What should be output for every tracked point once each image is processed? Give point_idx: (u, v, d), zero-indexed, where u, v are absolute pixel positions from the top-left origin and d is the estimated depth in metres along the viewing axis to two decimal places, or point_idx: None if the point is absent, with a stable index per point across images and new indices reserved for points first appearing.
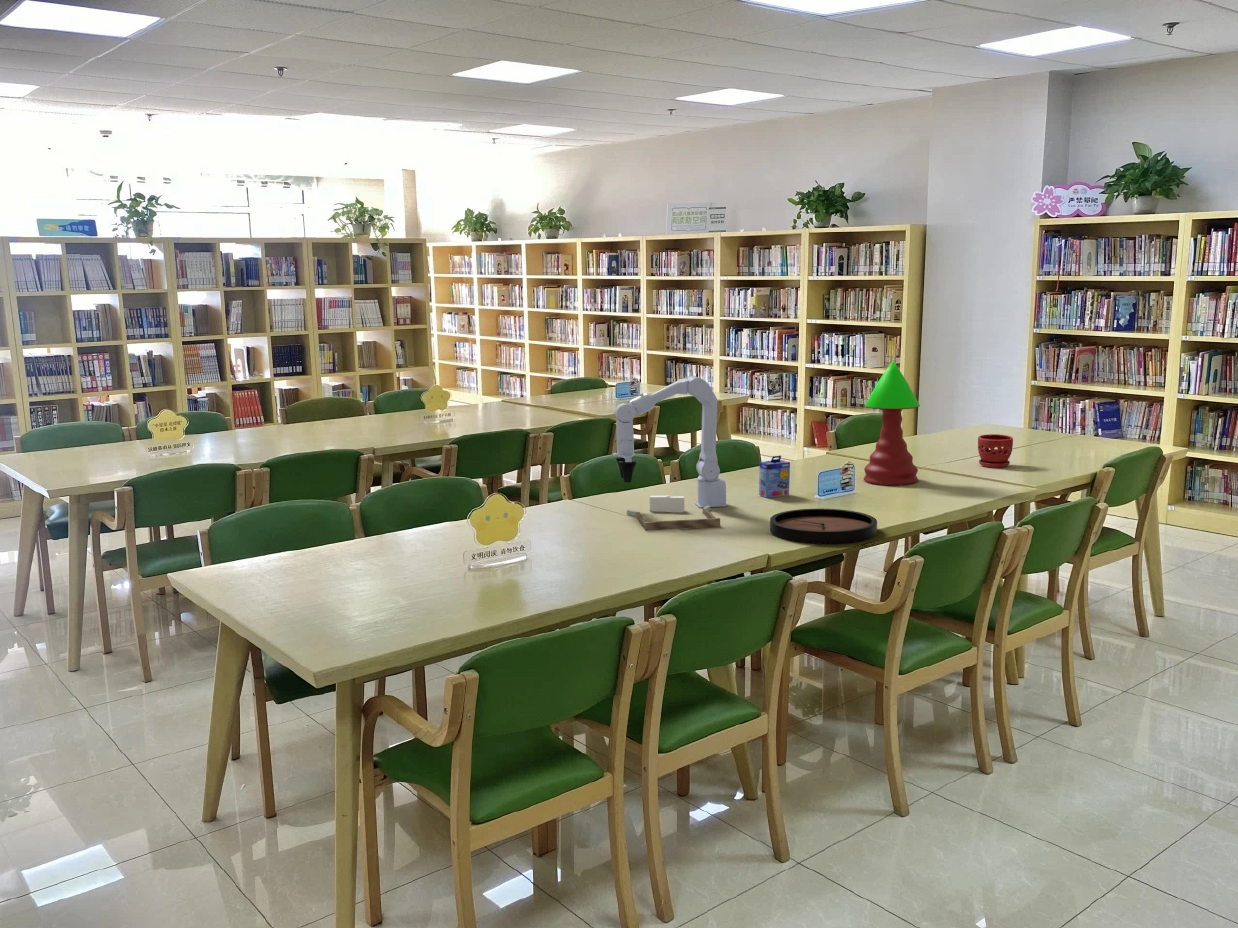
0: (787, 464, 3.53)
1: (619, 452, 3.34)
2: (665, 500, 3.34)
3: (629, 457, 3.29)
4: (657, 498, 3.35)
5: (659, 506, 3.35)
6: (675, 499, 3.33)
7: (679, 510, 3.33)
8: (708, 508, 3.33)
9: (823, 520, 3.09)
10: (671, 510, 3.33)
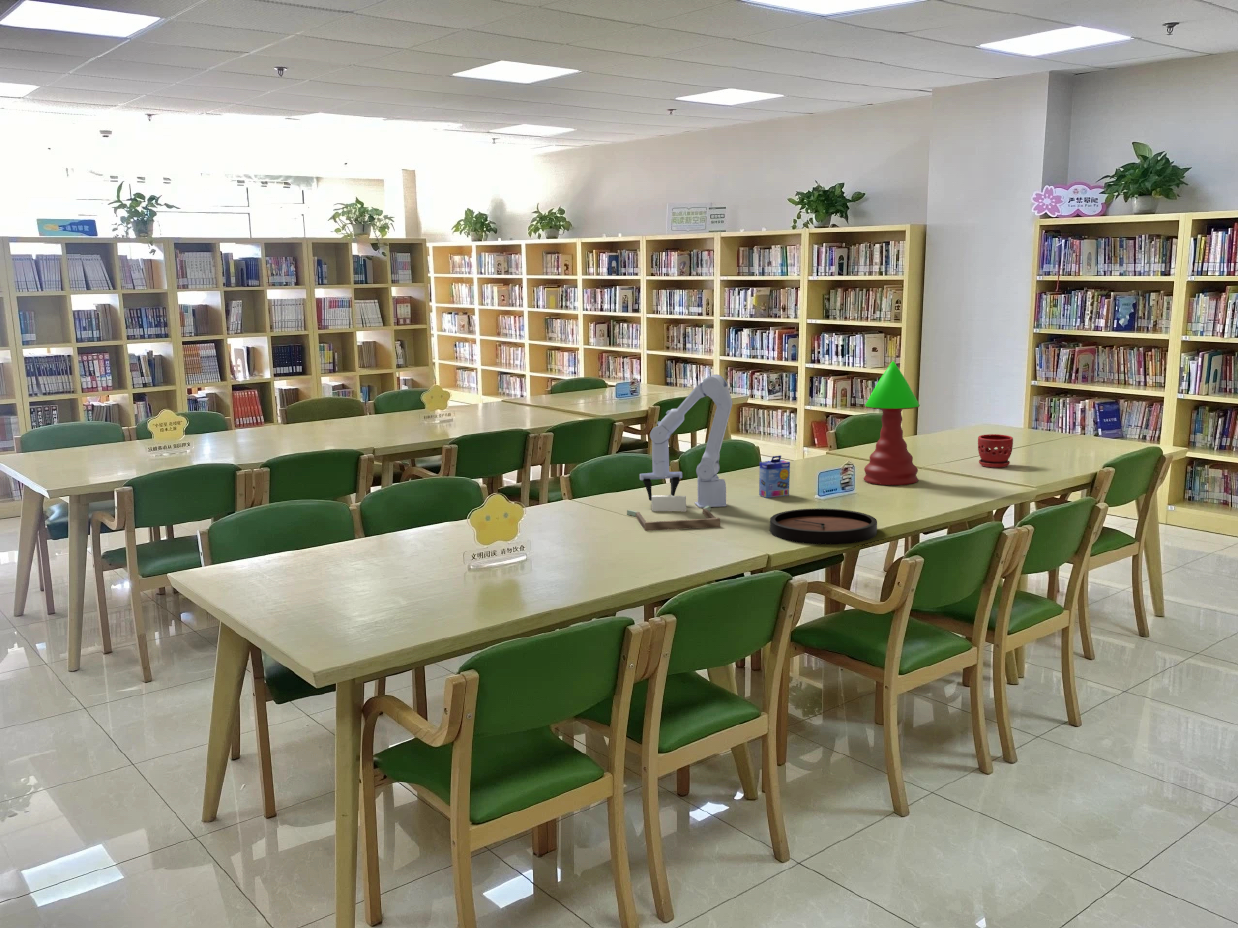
0: (787, 464, 3.53)
1: None
2: (667, 500, 3.35)
3: (640, 475, 3.44)
4: (659, 498, 3.35)
5: (661, 506, 3.35)
6: (677, 498, 3.34)
7: (681, 509, 3.34)
8: (708, 508, 3.33)
9: (823, 520, 3.09)
10: (673, 509, 3.34)
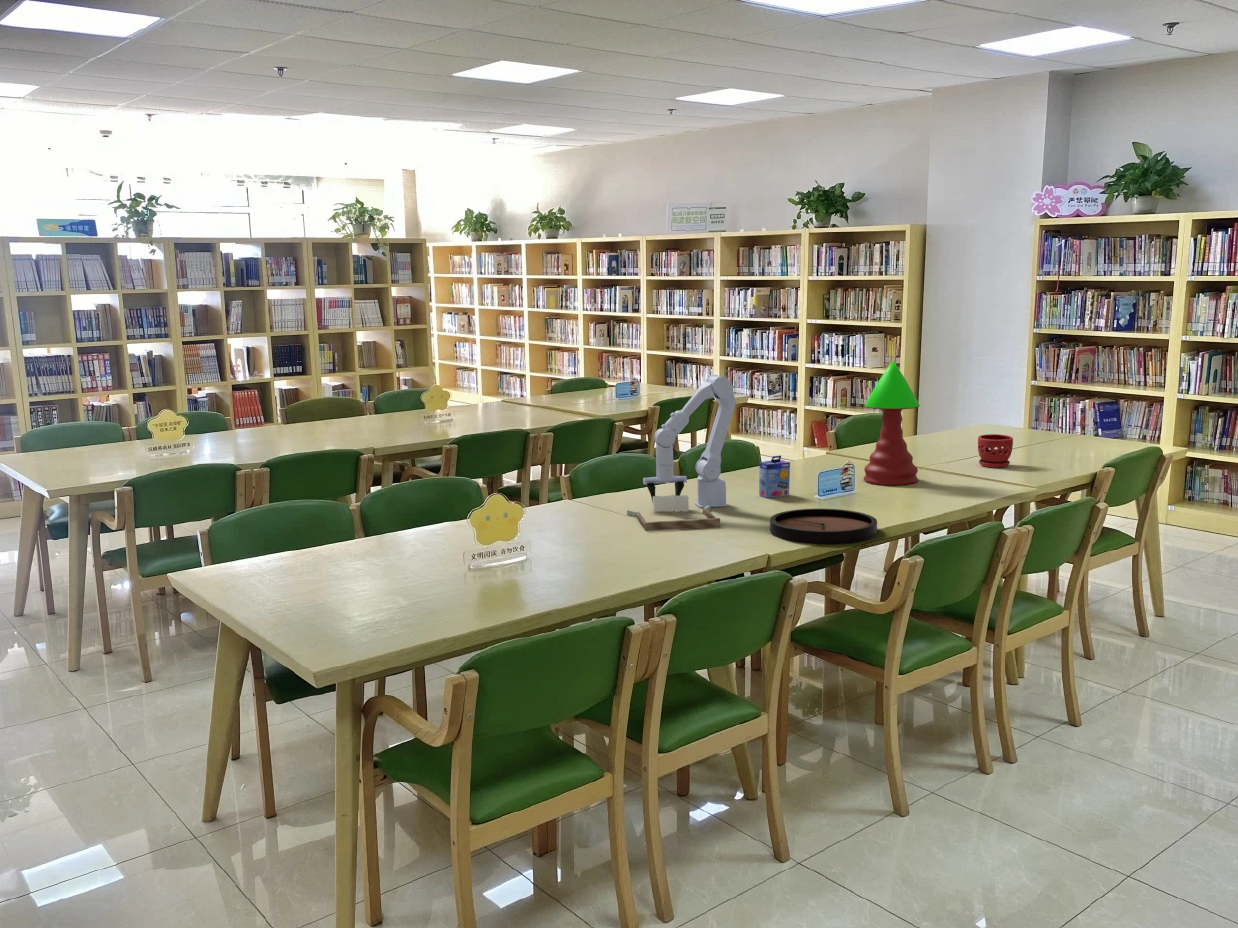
0: (787, 464, 3.53)
1: None
2: (669, 500, 3.34)
3: (643, 479, 3.37)
4: (661, 498, 3.34)
5: (663, 506, 3.35)
6: (680, 498, 3.33)
7: (684, 509, 3.34)
8: (708, 508, 3.33)
9: (823, 520, 3.09)
10: (676, 509, 3.34)
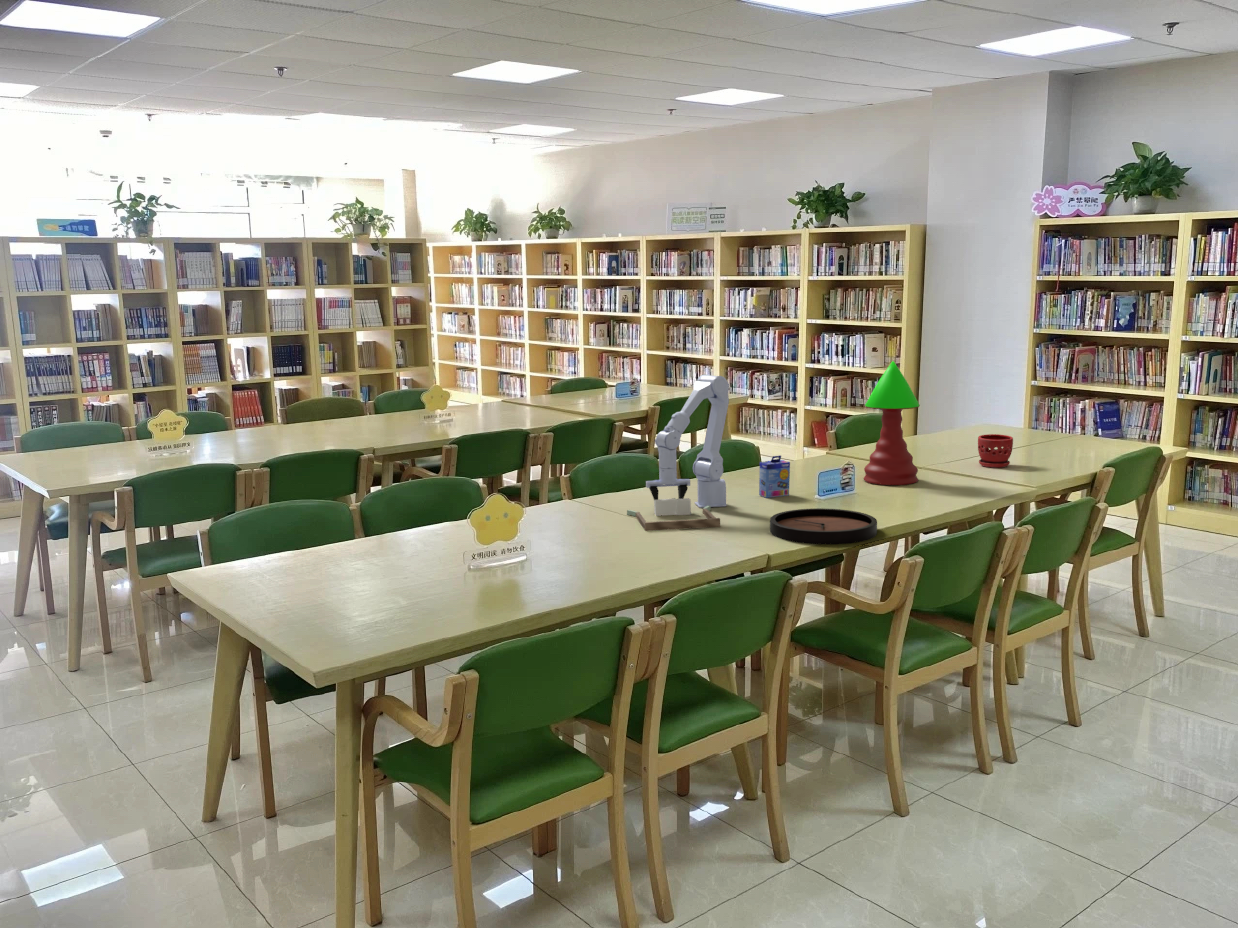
0: (787, 464, 3.53)
1: None
2: (671, 504, 3.29)
3: (646, 482, 3.31)
4: (663, 502, 3.28)
5: (665, 510, 3.29)
6: (682, 501, 3.28)
7: (686, 512, 3.29)
8: (708, 508, 3.33)
9: (823, 520, 3.09)
10: (678, 513, 3.29)
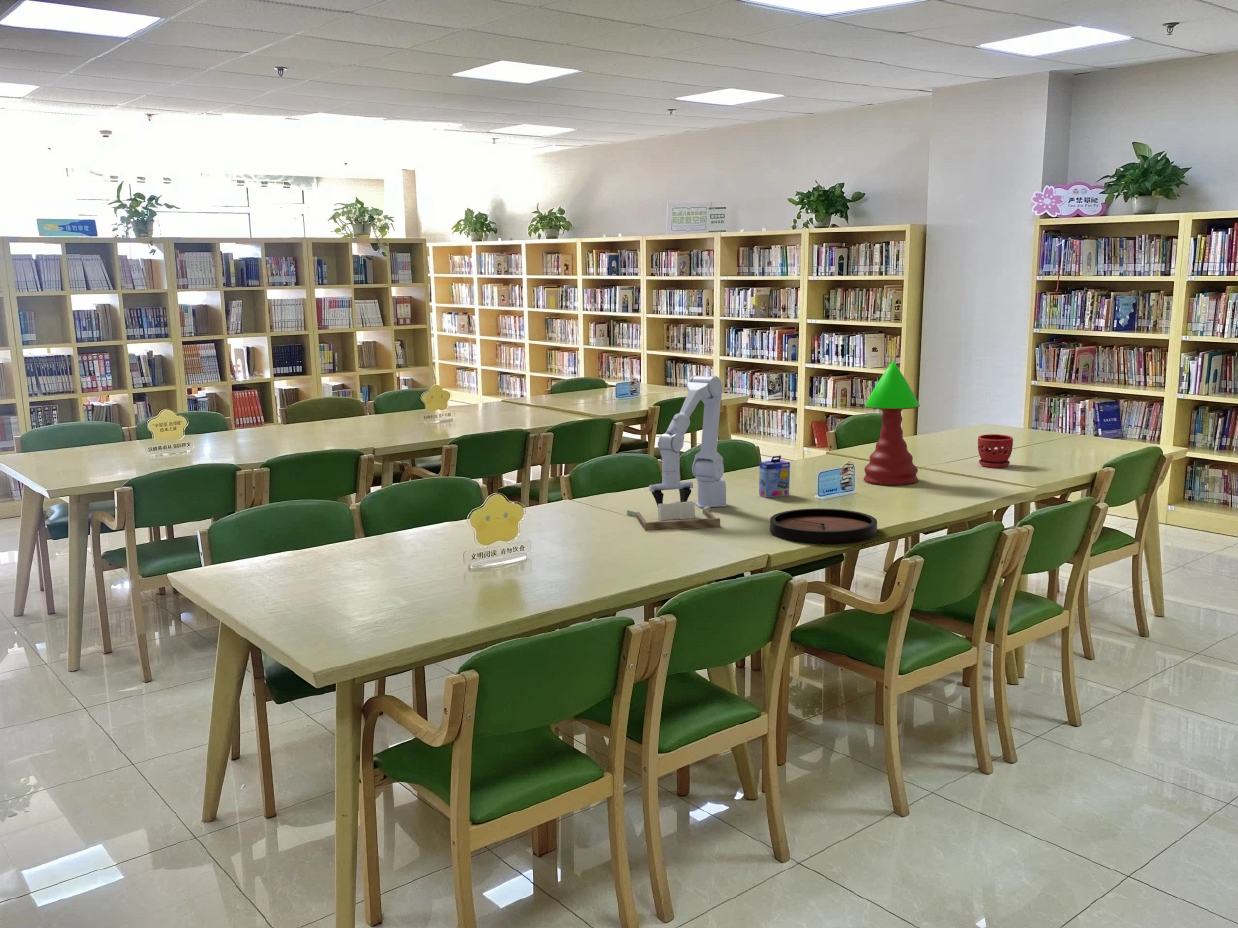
0: (787, 464, 3.53)
1: None
2: (676, 507, 3.24)
3: (650, 486, 3.24)
4: (668, 505, 3.22)
5: (670, 513, 3.23)
6: (687, 504, 3.24)
7: (690, 515, 3.25)
8: (708, 508, 3.33)
9: (823, 520, 3.09)
10: (683, 516, 3.24)
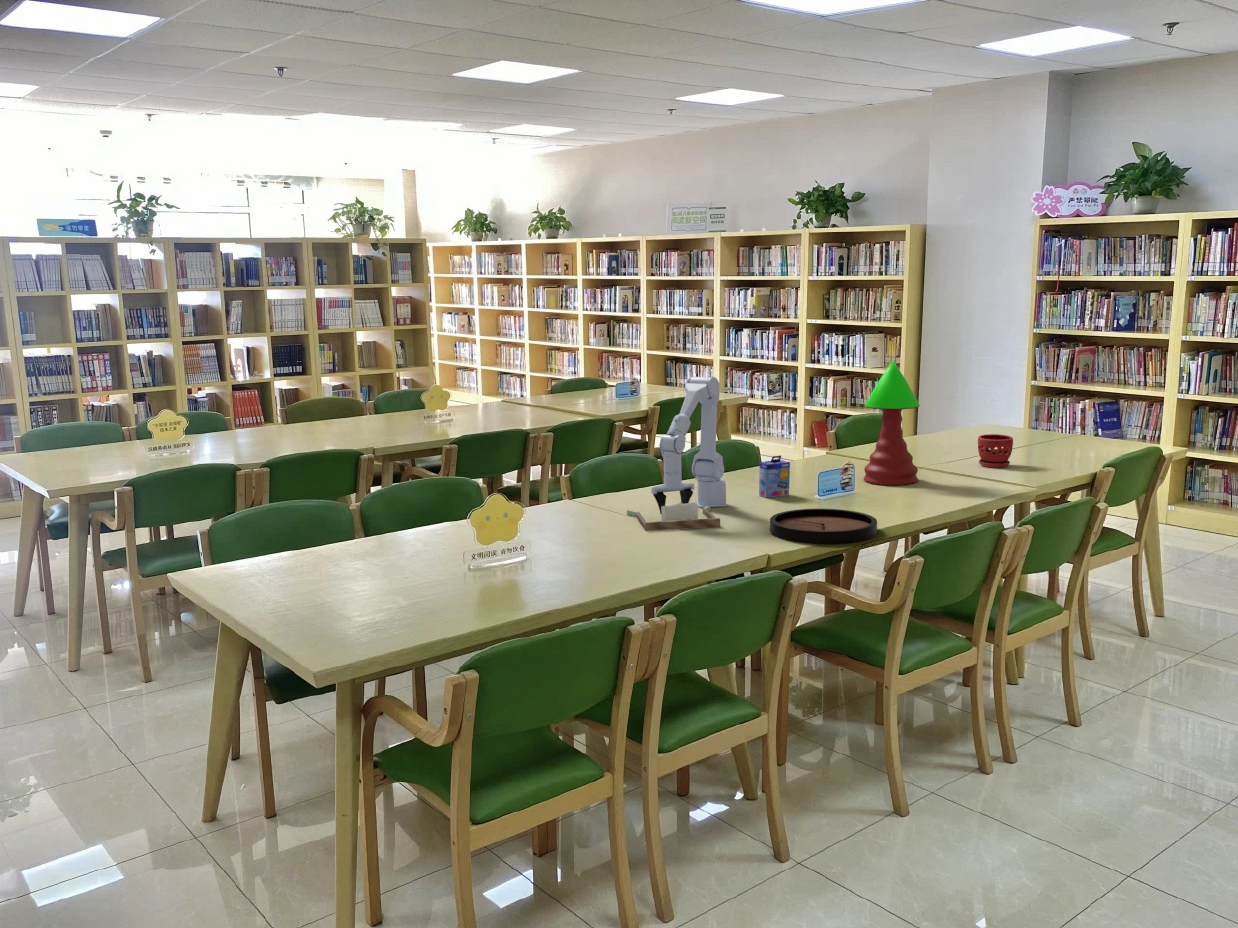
0: (787, 464, 3.53)
1: None
2: (679, 509, 3.21)
3: (653, 488, 3.20)
4: (672, 507, 3.20)
5: (673, 515, 3.20)
6: (690, 506, 3.21)
7: (693, 517, 3.23)
8: (708, 508, 3.33)
9: (823, 520, 3.09)
10: (686, 518, 3.21)
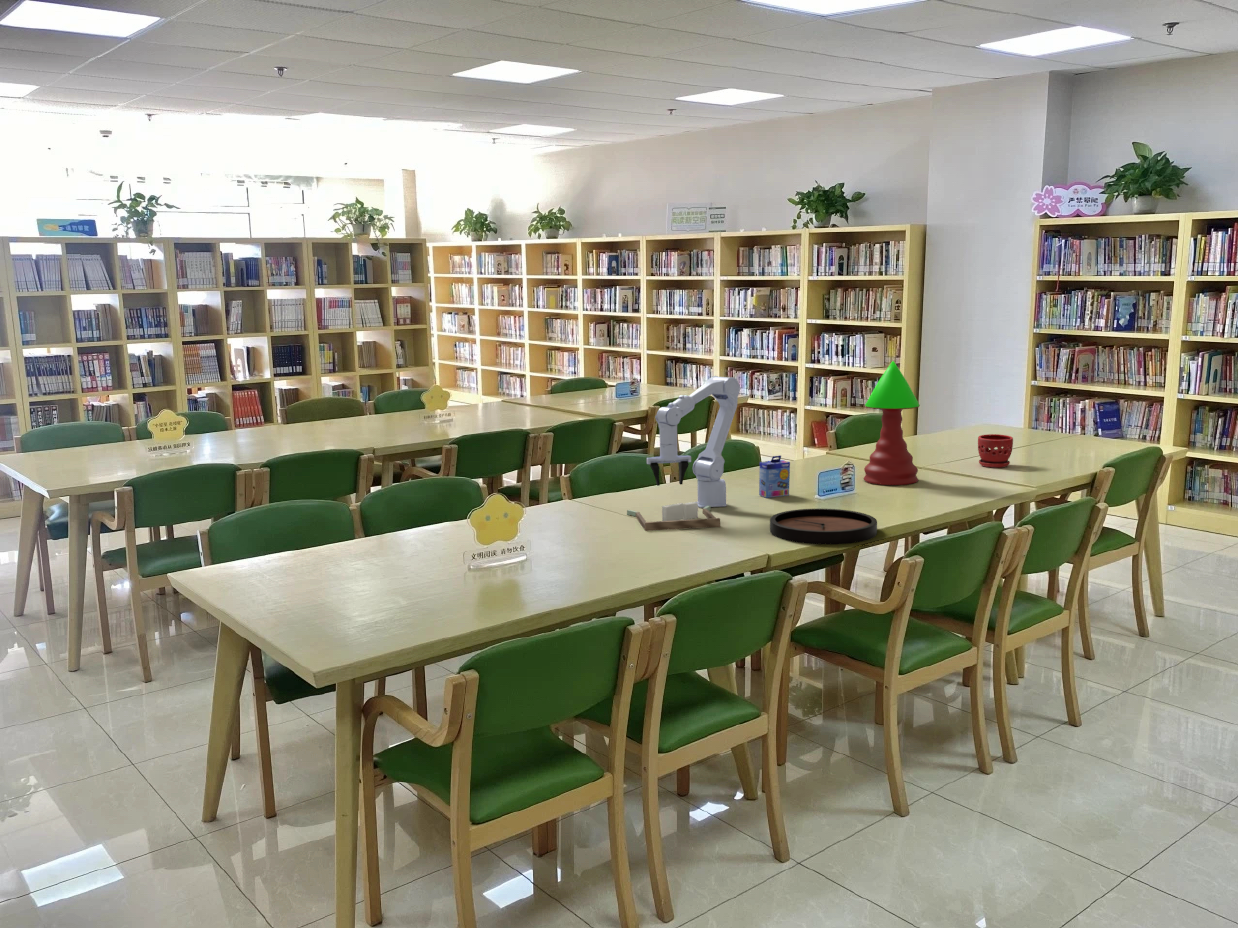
0: (787, 464, 3.53)
1: None
2: (680, 509, 3.21)
3: (647, 459, 3.29)
4: (673, 507, 3.20)
5: (674, 515, 3.21)
6: (690, 505, 3.22)
7: (694, 516, 3.23)
8: (708, 508, 3.33)
9: (823, 520, 3.09)
10: (687, 517, 3.22)
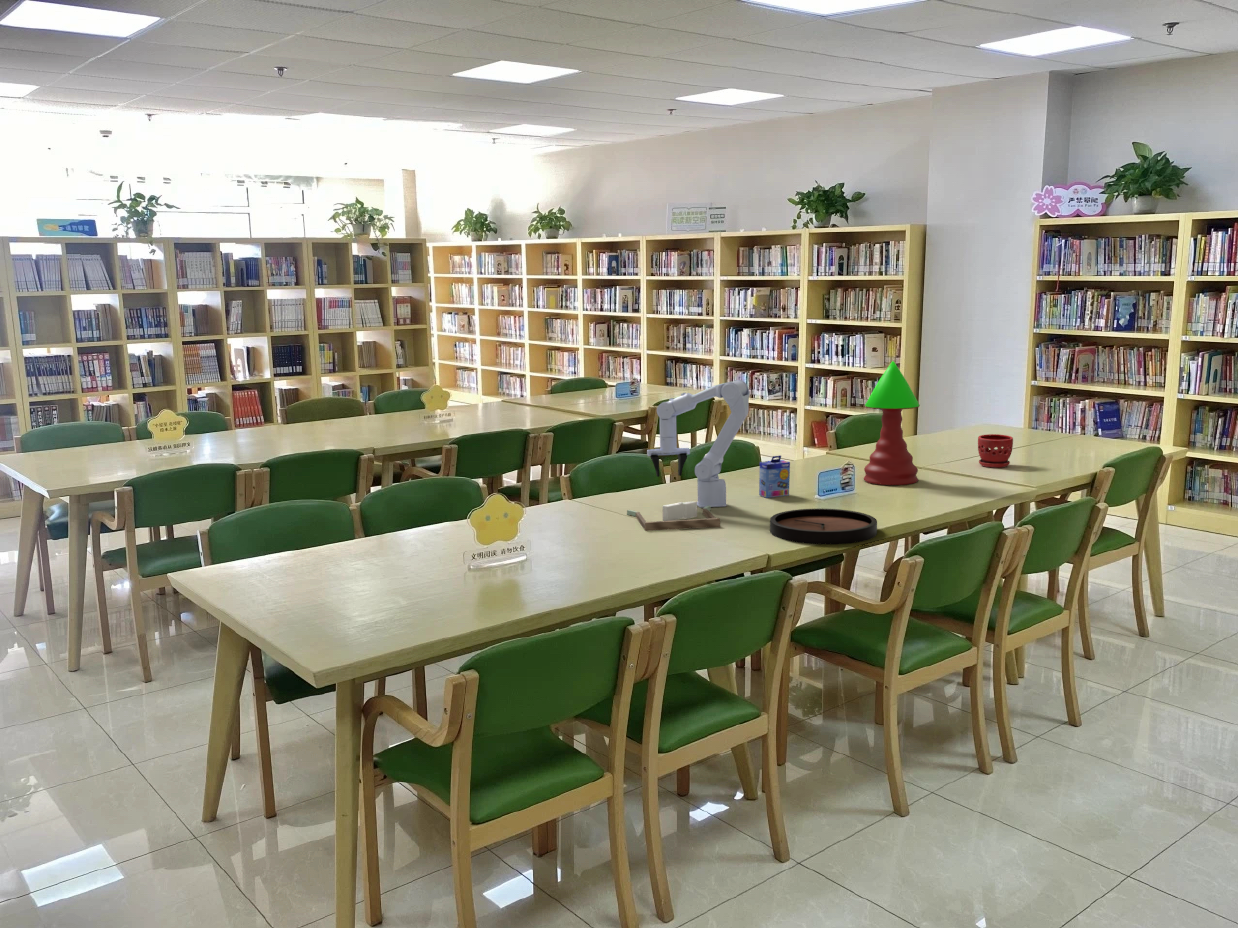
0: (787, 464, 3.53)
1: None
2: (680, 508, 3.23)
3: (647, 451, 3.45)
4: (673, 506, 3.21)
5: (674, 515, 3.22)
6: (690, 505, 3.23)
7: (693, 515, 3.25)
8: (708, 508, 3.33)
9: (823, 520, 3.09)
10: (687, 516, 3.23)
